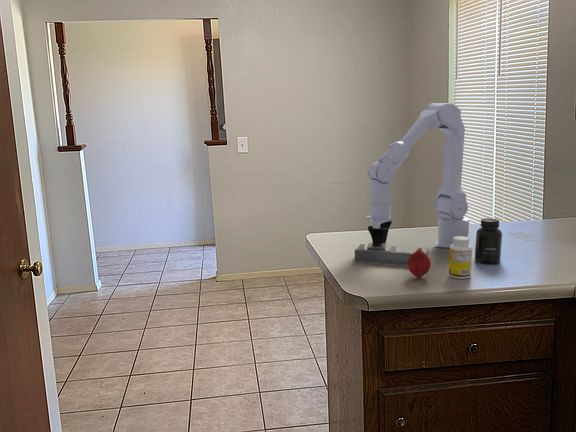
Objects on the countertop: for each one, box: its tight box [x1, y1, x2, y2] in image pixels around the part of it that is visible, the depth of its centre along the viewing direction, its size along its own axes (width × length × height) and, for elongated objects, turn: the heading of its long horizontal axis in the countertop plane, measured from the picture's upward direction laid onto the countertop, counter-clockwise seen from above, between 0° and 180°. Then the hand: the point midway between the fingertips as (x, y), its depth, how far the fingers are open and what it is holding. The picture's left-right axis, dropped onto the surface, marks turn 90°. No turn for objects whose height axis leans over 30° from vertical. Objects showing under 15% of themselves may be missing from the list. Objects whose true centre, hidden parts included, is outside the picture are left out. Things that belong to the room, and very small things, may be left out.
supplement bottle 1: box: [448, 236, 473, 280], centre depth 144 cm, size 6×6×10 cm
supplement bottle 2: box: [474, 217, 503, 265], centre depth 157 cm, size 7×7×12 cm
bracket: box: [353, 243, 429, 267], centre depth 160 cm, size 20×10×4 cm, turn 72°
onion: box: [407, 247, 432, 279], centre depth 144 cm, size 6×6×8 cm
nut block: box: [366, 242, 387, 251], centre depth 162 cm, size 5×5×4 cm
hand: (379, 246), depth 169 cm, fingers open, 7 cm apart
